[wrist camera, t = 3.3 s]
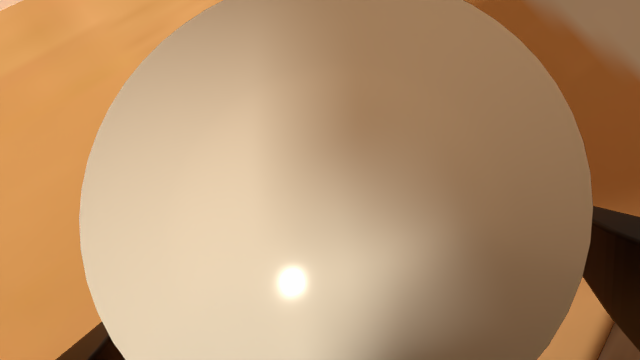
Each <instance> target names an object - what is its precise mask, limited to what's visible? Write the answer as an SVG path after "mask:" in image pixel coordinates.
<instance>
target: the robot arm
mask: <svg viewBox="0 0 640 360" xmlns="http://www.w3.org/2000/svg"><path fill="white" fill-rule="evenodd" d="M583 278H584V279H585V281H586V282H587V284H588V285H589V286H590V288H591V289H592V291H593V292H594V294H595V295H596V297H597V298H598V300H599V301H600V303H601V304H602V306H603V307H604V309H605V310H606V311H607V313H608V314H609V315H610V317H611V318H612V319H613V321H614V322H615V323H616V324H617V326H618V327H619V328H620V329H621V330H622V332H623V333H624V334H625V335H626V336H627V337H628V339H629V340H630V341H631V342H632V343H633V345H634V346H635V347H636V348H637V349H638V350H639V352H640V217H637V216H633V215H628V214H624V213H620V212H616V211H612V210H608V209H603V208H599V207H595V206H593V214H592V227H591V240H590V246H589V250H588V254H587V259H586V263H585V267H584V272H583ZM56 360H125V358H124V357H123V355H122V354H121V353H120V351H119V350H118V348H117V347H116V346H115V344H114V343H113V341H112V339H111V337H110V336H109V334H108V332H107V330H106V328H105V326H104V324H103V322H101V323H100V324H99V325H97V326H96V327H95V328H94V329H92V330H91V331H90V332H89V333H88V334H86V335H85V336H84V337H83V338H82V339H80V340H79V341H78V342H77V343H75V344H74V345H73V346H72V347H71V348H69V349H68V350H67V351H66V352H64V353H63V354H62V355H61V356H60V357H58V358H57V359H56Z"/></svg>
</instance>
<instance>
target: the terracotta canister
mask: <svg viewBox="0 0 640 360" xmlns="http://www.w3.org/2000/svg"><path fill="white" fill-rule="evenodd" d="M592 214H593V201H592V187H591V174H590V169H589V165H588V160H587V156H586V151H585V147H584V142H583V139H582V137H581V134H580V131H579V129H578V126H577V123H576V121H575V118H574V116H573V113H572V111H571V109H570V107H569V105H568V103H567V102H566V100H565V98H564V96H563V94H562V92H561V91H560V89H559V87H558V85H557V84H556V82H555V81H554V79H553V78H552V77H551V75H550V74H549V73H548V71H547V70H546V69H545V67H544V66H543V65H542V63H541V62H540V60H539V59H538V58H537V57H536V56H535V55H534V54H533V53H532V52H531V51H530V50H529V49H528V48H527V47H526V46H525V45H524V44H523V43H522V42H521V40H520V39H519V38H518V37H516V36H515V35H514V34H513V33H511V32H510V31H509V30H508V29H506V28H505V27H504V26H503V25H502V24H500V23H499V22H498V21H497V20H495V19H494V18H492V17H491V16H489V15H487V14H486V13H484V12H483V11H481V10H480V9H478V8H476V7H475V6H473V5H472V4H470V3H468V2H466V1H464V0H223V1H221V2H219V3H217V4H215V5H214V6H212V7H210V8H208V9H206V10H204V11H203V12H201V13H200V14H198V15H197V16H195V17H194V18H192V19H191V20H189V21H188V22H186V23H185V24H183V25H182V26H181V27H179V28H178V29H177V30H176V31H174V32H173V33H172V34H171V35H170V36H168V37H167V38H166V39H165V40H163V41H162V42H161V43H160V44H159V45H158V46H157V47H156V48H155V49H154V50H153V51H152V52H151V53H150V54H149V55H148V56H147V57H146V58H145V59H144V60H143V61H142V62H141V64H140V65H139V66H138V67H137V69H136V70H135V71H134V72H133V74H132V75H131V76H130V77H129V79H128V80H127V81H126V82H125V84H124V85H123V87H122V88H121V90H120V92H119V93H118V95H117V96H116V98H115V100H114V101H113V103H112V104H111V106H110V108H109V110H108V112H107V114H106V116H105V118H104V120H103V122H102V124H101V126H100V128H99V130H98V132H97V135H96V138H95V141H94V144H93V147H92V150H91V152H90V155H89V158H88V162H87V166H86V171H85V176H84V181H83V185H82V192H81V204H80V216H79V224H80V243H81V253H82V259H83V264H84V269H85V274H86V280H87V283H88V286H89V289H90V292H91V295H92V298H93V301H94V304H95V307H96V309H97V312H98V314H99V316H100V318H101V320H102V322H103V324H104V326H105V328H106V330H107V332H108V334H109V336H110V337H111V339H112V341H113V343H114V344H115V346H116V347H117V348H118V350H119V351H120V353H121V354H122V355H123V357H124V358H125V360H537V359H538V357H539V356H540V355H541V354H542V352H543V351H544V350H545V349H546V348H547V346H548V345H549V344H550V342H551V340H552V339H553V337H554V335H555V333H556V332H557V330H558V328H559V327H560V325H561V323H562V322H563V320H564V318H565V317H566V315H567V313H568V311H569V309H570V306H571V304H572V301H573V299H574V296H575V294H576V291H577V289H578V286H579V284H580V281H581V279H582V276H583V272H584V267H585V263H586V259H587V254H588V250H589V246H590V240H591V227H592Z"/></svg>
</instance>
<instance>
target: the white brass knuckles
mask: <svg viewBox="0 0 640 360" xmlns="http://www.w3.org/2000/svg"><path fill="white" fill-rule="evenodd" d="M20 1H22V0H0V11H1V10H3V9H5V8H7V7H9V6H12V5H14V4H16V3H18V2H20Z"/></svg>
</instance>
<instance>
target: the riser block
mask: <svg viewBox="0 0 640 360" xmlns="http://www.w3.org/2000/svg"><path fill="white" fill-rule="evenodd" d="M598 360H640V352H639V350H638V349H637V348H636V347H635V346H634V345H633V343H632V342H631V341H630V340H629V339H628V337H627V336H626V335H625V334H624V333H623V332H622V330H621V329H620V328H619V327H618V326H617V324H616V323H615V324H614V326H613V328H612V330H611V332H610V334H609V337H608V339H607V341H606V343H605V345H604V347H603V350H602V352H601V354H600V356H599V358H598Z"/></svg>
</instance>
